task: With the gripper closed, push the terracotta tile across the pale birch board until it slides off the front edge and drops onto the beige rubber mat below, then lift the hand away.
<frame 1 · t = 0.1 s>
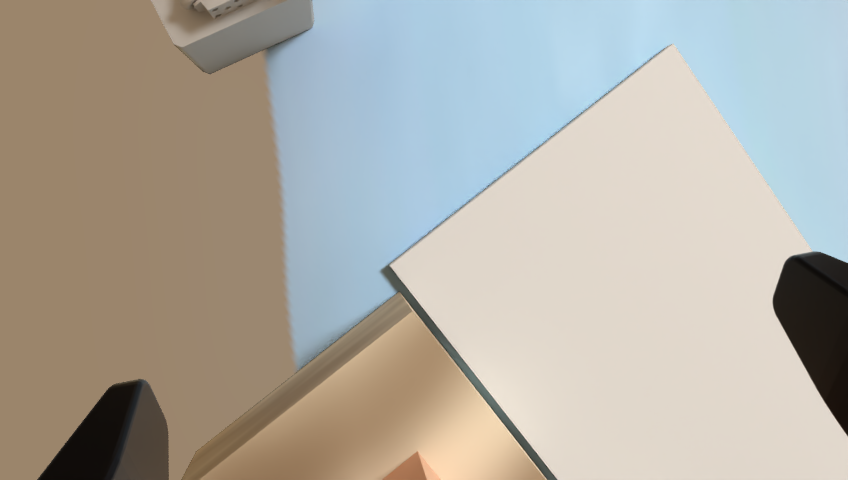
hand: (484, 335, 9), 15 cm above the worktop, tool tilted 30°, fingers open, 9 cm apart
mat: (668, 343, 26), on the worktop
lighter: (290, 10, 23), on the worktop
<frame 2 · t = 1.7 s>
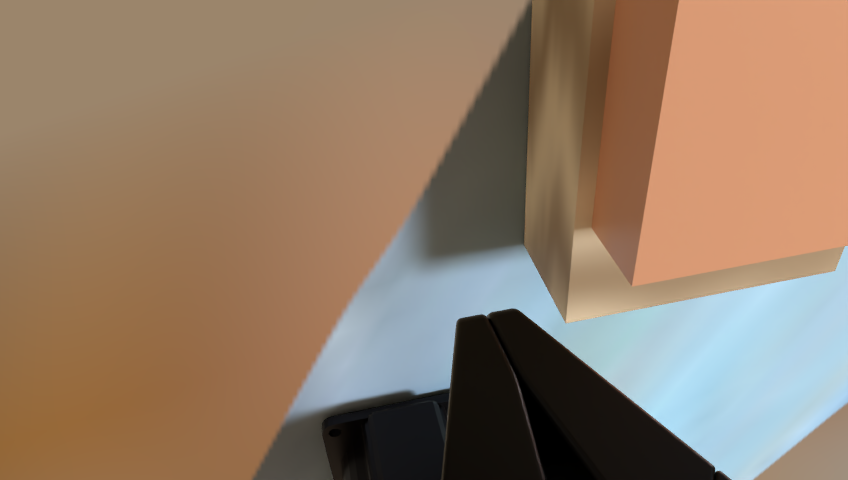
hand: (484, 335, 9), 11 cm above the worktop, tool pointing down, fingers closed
tile: (728, 53, 16), point 4 cm above the worktop, touching board
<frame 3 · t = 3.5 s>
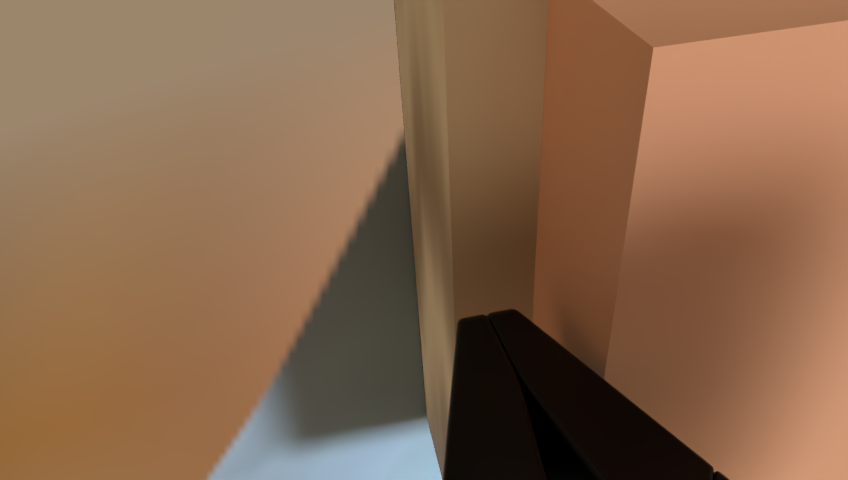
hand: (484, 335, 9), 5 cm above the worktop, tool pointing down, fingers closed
board: (621, 128, 14), on the worktop
tile: (716, 241, 11), point 4 cm above the worktop, touching board
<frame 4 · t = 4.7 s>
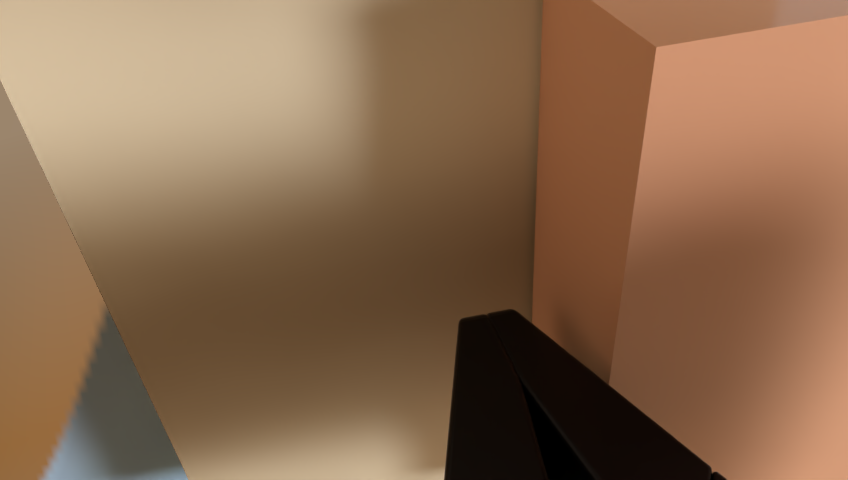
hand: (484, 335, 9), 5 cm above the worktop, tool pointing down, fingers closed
board: (394, 161, 13), on the worktop
tile: (715, 238, 11), point 4 cm above the worktop, touching board, gripper
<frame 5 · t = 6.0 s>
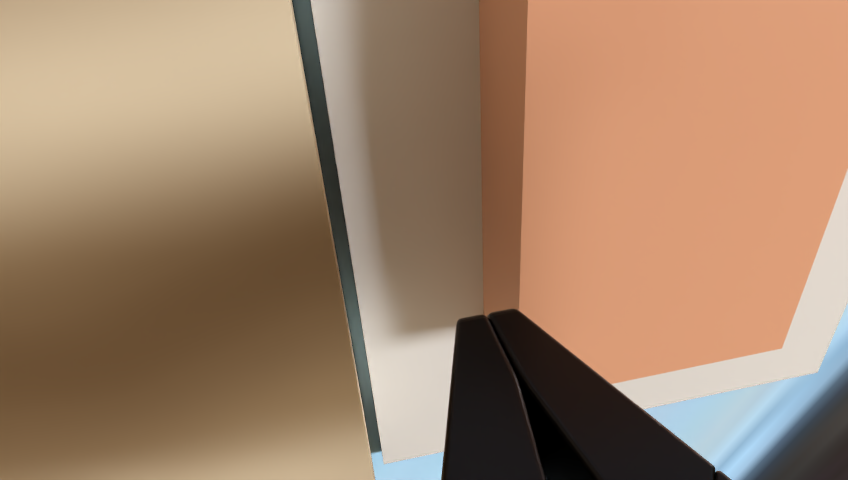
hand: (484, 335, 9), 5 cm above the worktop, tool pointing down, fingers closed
board: (82, 212, 13), on the worktop
mat: (648, 124, 14), on the worktop
tile: (689, 198, 12), point 3 cm above the worktop, tilted 180°, touching mat
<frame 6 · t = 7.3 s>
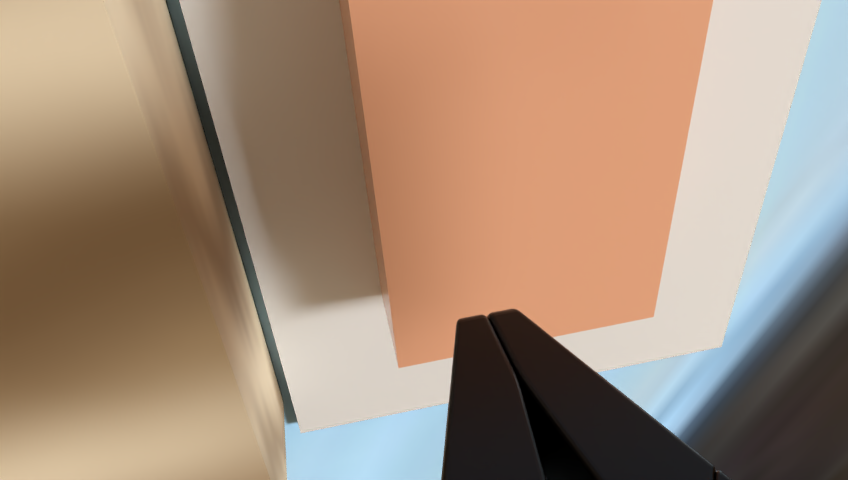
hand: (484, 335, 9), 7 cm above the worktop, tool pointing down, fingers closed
mat: (522, 106, 15), on the worktop
tile: (534, 171, 13), point 3 cm above the worktop, tilted 180°, touching mat
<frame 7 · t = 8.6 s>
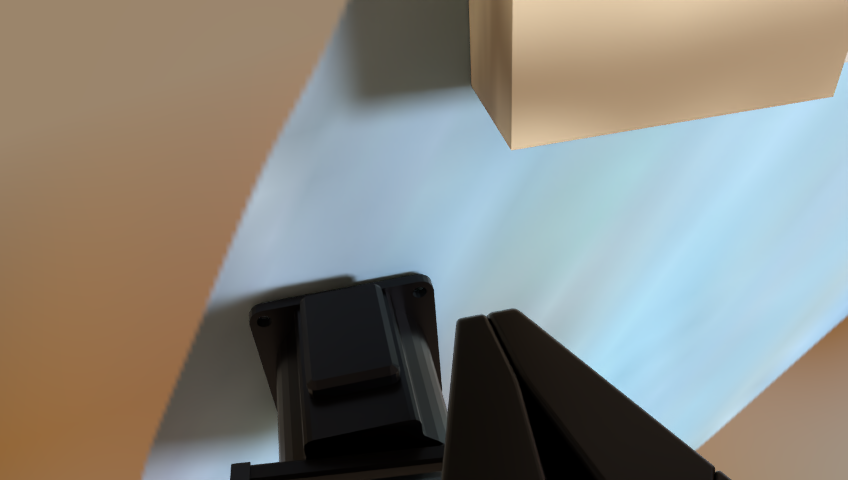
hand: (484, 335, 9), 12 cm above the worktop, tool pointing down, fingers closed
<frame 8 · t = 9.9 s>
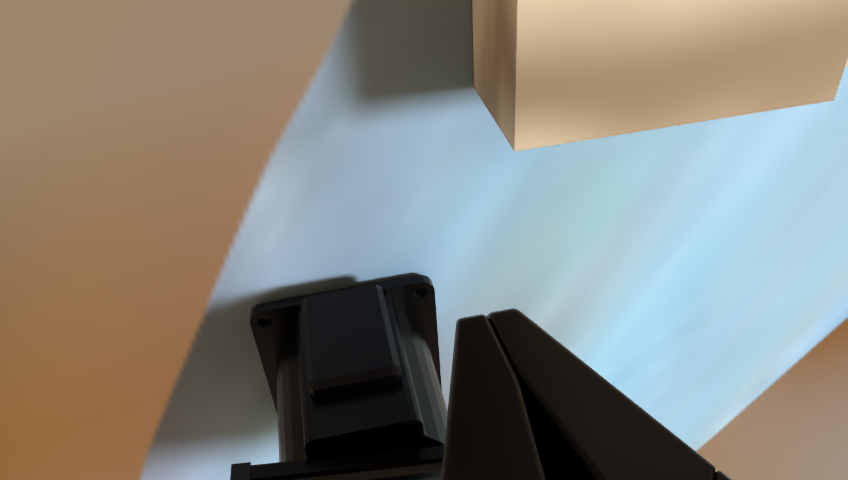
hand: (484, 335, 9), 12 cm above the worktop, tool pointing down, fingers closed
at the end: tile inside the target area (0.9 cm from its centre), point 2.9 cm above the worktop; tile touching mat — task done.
